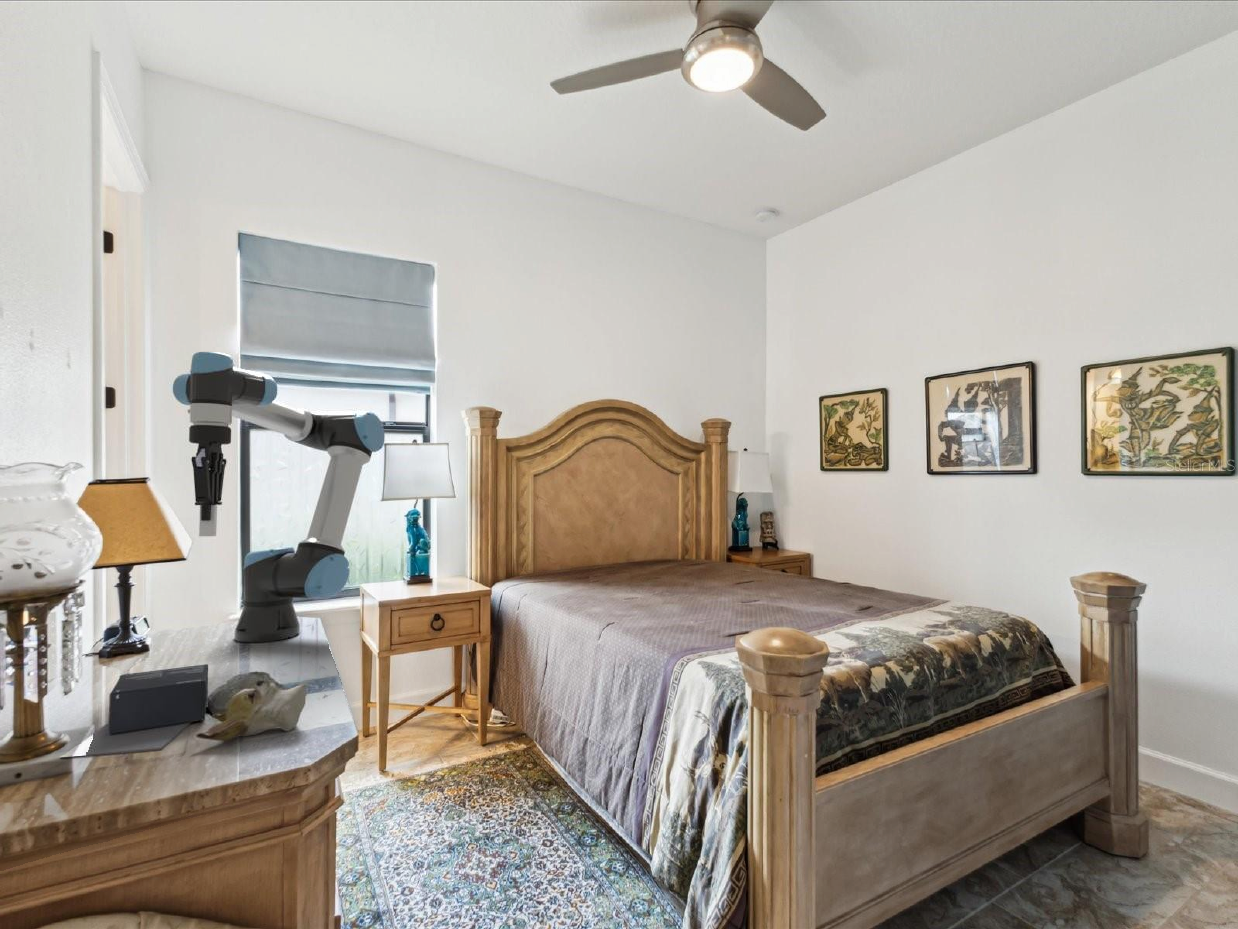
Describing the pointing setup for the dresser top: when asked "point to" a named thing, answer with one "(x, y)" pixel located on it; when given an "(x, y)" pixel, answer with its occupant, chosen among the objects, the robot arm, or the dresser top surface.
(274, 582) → the robot arm
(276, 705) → the ceramic sculpture
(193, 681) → the small box
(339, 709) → the dresser top surface
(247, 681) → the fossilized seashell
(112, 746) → the mat
